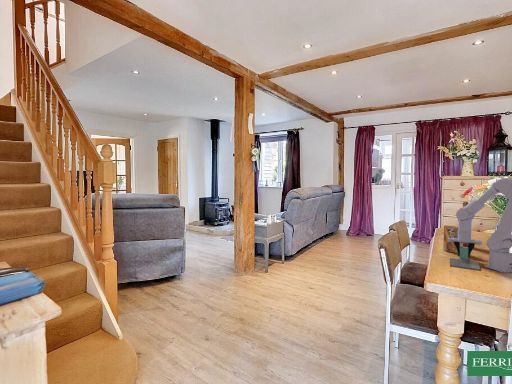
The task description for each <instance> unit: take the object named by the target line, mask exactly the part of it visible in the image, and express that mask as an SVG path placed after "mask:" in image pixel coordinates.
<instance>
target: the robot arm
mask: <svg viewBox="0 0 512 384" xmlns="http://www.w3.org/2000/svg"><path fill="white" fill-rule="evenodd" d="M497 194H503V195H504V196H505V197H506V198H507V203H506V206H505V208H504V211H503V213H502V216H501V218H500V220H499V223H498V225H497V229H496V230H495V231H494V232H493V233H492V234H491V235H490V237H489V238H487V240H486V246H487V248H488V250H489V251H488V252H489V254H488V255H489V257H488V264H486V265H485V264H484V265H483V267H485V268H487V269H490V270H494V271H497V272H499V273H512V253H511V252H510V249H511V248H512V177H500V178H498V179H497V180H496V181H494V182H493V183H492V184H491V185H490V186H489V188H488V189H486V190H485V191H484V192H483V193H482V194H481V195H480V196H479V197H478V198H473V199H470V200H469V202H468V204H467V205H466V206H464V207H463V206H462V208H459V209H458V210H456V212H455V216H456V219H457V226H458V238H448V242H454V244H455V246H456V249H457V251H458V253H457V256H458V257H460V243H468V259H469V258H470V257H471V253H472V251H473V250H474V248H475V246H476V245H478V246H482V244H483V243H482V242H483V241H482V240H478V239H477V240H476V239H472V225H473V224H472V223H473V219H474V218H475V217H476V214H477V213H479V212H480V211H481V210H483V208H484V207H485V204H486V202H488V201H489V200H490V199H492V198H493V197H494V196H496V195H497Z"/></svg>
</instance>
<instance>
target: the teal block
mask: <svg viewBox="0 0 512 384" xmlns="http://www.w3.org/2000/svg"><path fill="white" fill-rule="evenodd" d="M459 259H462V260H469V257H468V247H464V246H463V247H461V246H460V256H459Z"/></svg>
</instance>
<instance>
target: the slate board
mask: <svg viewBox="0 0 512 384" xmlns="http://www.w3.org/2000/svg"><path fill="white" fill-rule="evenodd" d="M449 266H450V267H453V268H454V267H455V268H461V269H467V270H474V271H481V268H480V267H481V266H480V264H479V261H476V260H470V259H468V260H462V259H460V258H453V257H449Z"/></svg>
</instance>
